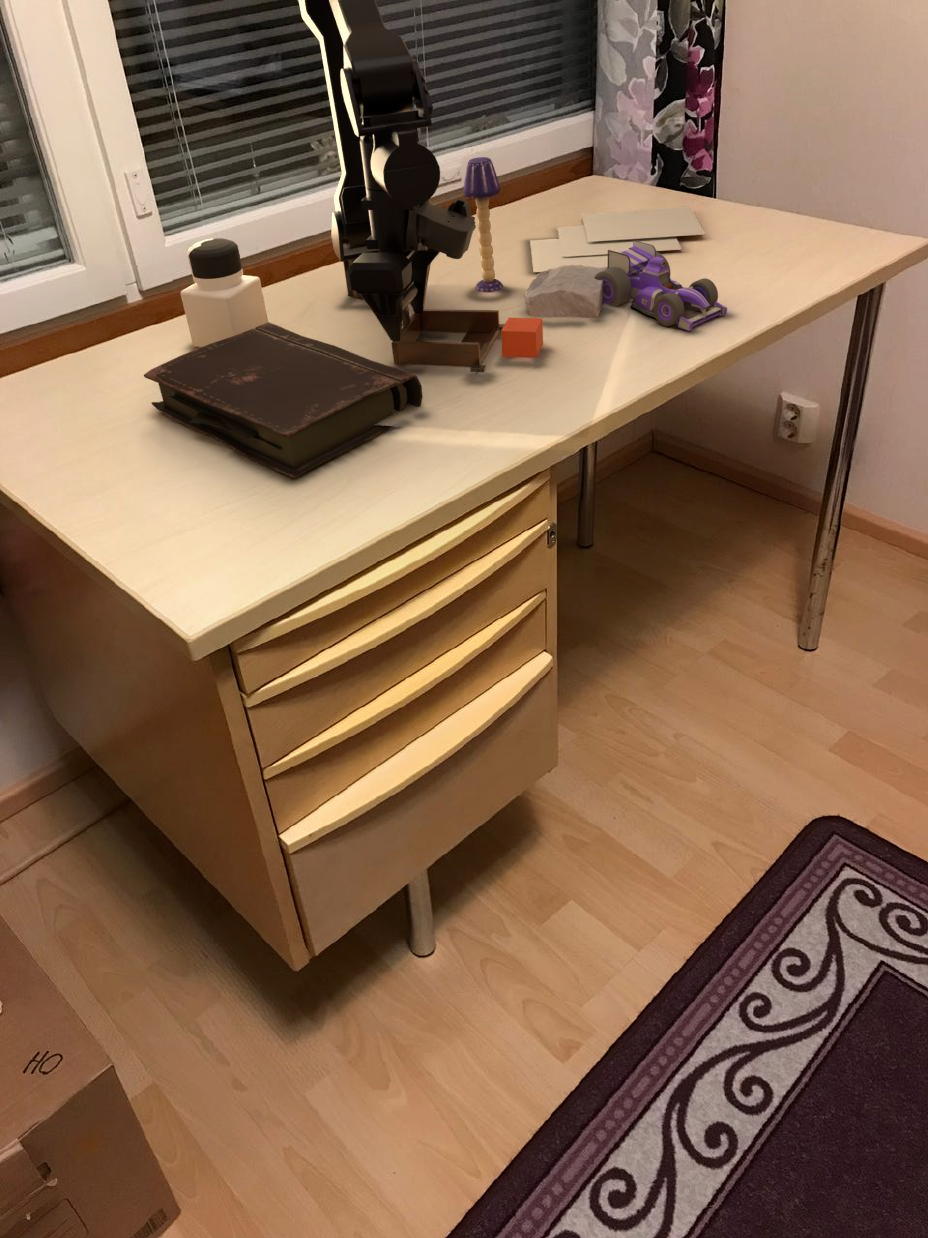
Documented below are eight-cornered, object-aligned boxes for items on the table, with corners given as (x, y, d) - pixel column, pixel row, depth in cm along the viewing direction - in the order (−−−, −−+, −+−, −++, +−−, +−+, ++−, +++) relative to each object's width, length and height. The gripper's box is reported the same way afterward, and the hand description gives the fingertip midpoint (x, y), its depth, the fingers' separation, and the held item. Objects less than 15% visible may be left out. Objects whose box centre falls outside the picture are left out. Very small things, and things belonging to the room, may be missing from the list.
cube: (535, 331, 111) (536, 365, 114) (542, 318, 114) (543, 351, 117) (500, 330, 112) (502, 364, 115) (508, 317, 115) (509, 350, 118)
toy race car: (682, 336, 117) (685, 281, 113) (590, 305, 127) (591, 254, 123) (734, 312, 122) (739, 258, 118) (642, 285, 131) (644, 234, 128)
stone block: (526, 337, 124) (605, 322, 121) (517, 299, 122) (598, 283, 119) (539, 305, 134) (613, 290, 131) (531, 269, 131) (606, 253, 128)
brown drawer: (390, 368, 115) (382, 309, 111) (415, 334, 123) (409, 277, 119) (480, 371, 113) (475, 311, 108) (500, 335, 120) (496, 277, 116)
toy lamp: (464, 298, 132) (455, 163, 122) (477, 285, 136) (469, 153, 125) (498, 300, 131) (492, 164, 120) (511, 288, 134) (505, 154, 124)
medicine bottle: (271, 331, 128) (252, 235, 120) (239, 353, 123) (217, 254, 115) (225, 326, 130) (204, 231, 123) (192, 347, 125) (168, 250, 118)
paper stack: (717, 260, 136) (717, 255, 136) (533, 272, 138) (533, 267, 137) (689, 210, 155) (689, 205, 154) (527, 221, 156) (527, 216, 156)
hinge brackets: (469, 381, 112) (468, 370, 111) (497, 332, 122) (497, 321, 121) (483, 382, 111) (482, 370, 110) (510, 333, 122) (510, 321, 121)
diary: (280, 357, 121) (272, 316, 118) (425, 412, 106) (420, 368, 103) (147, 414, 111) (135, 372, 108) (287, 484, 96) (278, 437, 93)
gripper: (440, 207, 98) (453, 359, 107) (485, 161, 112) (493, 299, 122) (334, 208, 101) (356, 356, 110) (391, 163, 115) (406, 297, 124)
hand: (407, 325), depth 117 cm, fingers open, 9 cm apart
